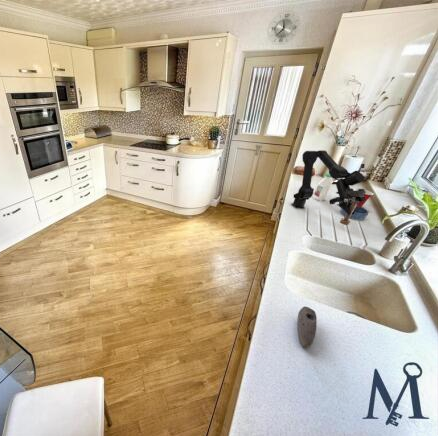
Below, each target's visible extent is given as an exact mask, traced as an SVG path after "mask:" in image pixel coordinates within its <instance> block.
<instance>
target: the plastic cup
mask: <svg viewBox="0 0 438 436" xmlns="http://www.w3.org/2000/svg"><path fill="white" fill-rule="evenodd" d="M359 189H361V188H358V187H356V188H355V191H358V190H359ZM364 190H365V192H366V193H365V194H363V196H364V197H365V198H366V200H365V201H362V202H359V203H357V206H359V207H363V205H364V204H365V203H367V201H368V200H369V199H370V198H371V197H372V196H374V194H375V193H373V192H372V191H370V190H368V189H364ZM356 197H357V196H356Z"/></svg>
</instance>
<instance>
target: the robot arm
mask: <svg viewBox="0 0 438 436" xmlns="http://www.w3.org/2000/svg"><path fill="white" fill-rule="evenodd" d="M301 157H302V162H303V165H304V167H303V174H302V184H301V186H300V187H299V189H298V191H297V192H296V193H294V194H293V199H294V200H293V202H291V203H290V205H292V206H293V207H294V208H295V209H305V205H306V203H307V200H310V198H313V195H314V192H315V191H314V190H315V187H312V177H313V171H314V170H313V169H314V164H315V163H316V162H317V160H318V159H319V160H320V161H321V162H322V163H323V165H324V166H325V167H326V168H327V170H328V174H330V176H331V177H332V178H331V179H334V180H333V181H332V182H331V185H335V186H336V190H337V191H336V192H335V193H336V195H338V196H336V197H332V198H330V199H329V201H328V202H329V203H328V204H329V205H335V204H336V203H338V204H336V206H338V207H339V208H340V209H341V208H342V209H343V210H344V211H345V212H346V213H347V214H348V215H350V214H351V211H350V207H351V205H352V203H359V202H362V201H365V200H366V198H365V197H364V196H363V194H365V193H366V192H365V190H366V189H365V188H360V189H359V190H358V191H356V190H354V188H351V187H353V186H355V185H357V184H360V183H362V182H364V181H365V176H364V174H363V173H362V172H360V170H354V171H352V172H349V171H348V169H347V168H345V167H343V166H342V165H339V164H338V163H337V162H336V161H335V160H334V159H333V158H332V157H331V155H330V154H329V153H328V151H327V150H324V149H323V150H321V149H320V150H319V149H318V150H305V151H304V152H303V153H302V156H301ZM356 196H357V197H356ZM353 214H355V209H354V211H353V213H352V215H353Z"/></svg>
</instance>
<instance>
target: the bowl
mask: <svg viewBox="0 0 438 436" xmlns="http://www.w3.org/2000/svg"><path fill="white" fill-rule="evenodd" d="M339 213H340V214H342V215H343V216H344V217H345V216H346V214H347V213H346V212H345V211H344V210H343V209H342V208H341V207H340V210H339ZM369 214H370V211H369V210H368V209H366V208H364V207H363V206H361V207H359V206H356V208H355V214H353V215H351V216H350V218H349V219H352V220H357V221H358V220H359V221H363V220H366V219H367V217H368V216H369Z"/></svg>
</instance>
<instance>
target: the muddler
mask: <svg viewBox="0 0 438 436" xmlns="http://www.w3.org/2000/svg"><path fill="white" fill-rule="evenodd" d="M356 206H357V203H352V205H351V207H350V211H351V214H350V215H348V214H346V216H344V218H340V221H339V224H341V225H344V226H349V225H350V223H351V220H350V219H351V218H350V216H351V215H352V213H353V211H354V209H355V208H356Z"/></svg>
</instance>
